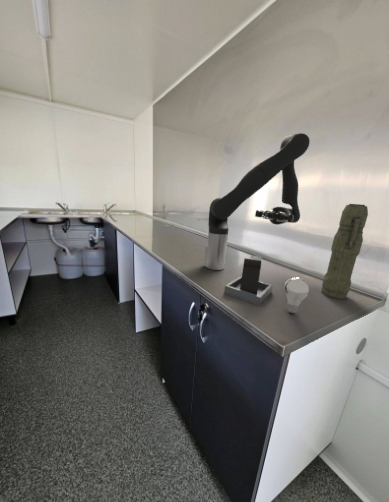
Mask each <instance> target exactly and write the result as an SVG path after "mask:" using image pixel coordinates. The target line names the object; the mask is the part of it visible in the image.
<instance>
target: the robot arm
mask: <svg viewBox="0 0 389 502" xmlns="http://www.w3.org/2000/svg"><path fill="white" fill-rule="evenodd" d="M310 142H311V141H310V137H309V136H308V135H307V134H305V133H302V132H301V133H299V132H297V133H294V134H290V135H287V136H285V137H284V138H283V139H282V140H281V142H280V145H279V151H278V152H276V153H274V154H272V155H271V156H269V157H268V158H265V159H264V160H262V161H260V162H258V163H257V164H256V165H255V166H254V167H252V168H251V169H250V170H249V171H248V172H247V173H246V174H245V175H244V176H243V177H242V178H241V180H239V182H238V184H237V185H236V186H235V187H234V188H233V189H231V190H230V191H229V192H228V193H227V194H226V195H224V196H222V197H217V198H214V199H213V200H212V201H211V203H210V205H209V211H208V212H209V213H208V235H207V242H206V243H207V245H206V246H205V248H204V258H203V267H205V268H206V269H208V270H213V271H222V270H224V268H225V262H226V255H227V246H228V238H229V237H228V235H229V227H228V221H229V220H228V218H229V217H230V216H232V215H233V214H234V212H235V211H236V210H237V209H238V208H239V207H240V206H242V204H243V203H244V202H245V201H247V200H248V199H249V198H251V197H252V196H254V195H255V194H256V193H257V192H258V191H260V190H261V189H263V187H264V186H266V185H267V184H268V183H269V182H270V181H271V180H273V179H274V177H276V176H277V175H278V174H280V172H281V173H282V174H281V178H282V188H281V203H282V204H285V205H289V206H290V207H291V208H289V207H288V208H287V207H285V206H275V207H272V208H271V209H270V210H268V209H267V210H266V209H265V210H262V209H261V210H258V209H257V210H255V215H254V216H255V217H256V218H263V219H265V220H269V222H270V223H271V224H273V225H277V226H278V225H283V224H286V223H289V224H290V223H291V224H292V223H293V224H295V223H297V222H298V221H299V220H300V218H301V213H300V208H299V203H298V199H299V198H298V197H299V181H298V178H297V174H296V170H295V169H296V168H295V161H296V160H297V159H299V158H300V157H302V156H303V155H304V154H305V153H306V152H307V150H308V149H309V146H310Z"/></svg>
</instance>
